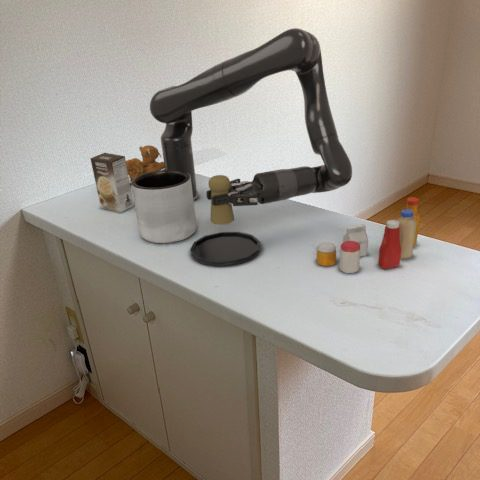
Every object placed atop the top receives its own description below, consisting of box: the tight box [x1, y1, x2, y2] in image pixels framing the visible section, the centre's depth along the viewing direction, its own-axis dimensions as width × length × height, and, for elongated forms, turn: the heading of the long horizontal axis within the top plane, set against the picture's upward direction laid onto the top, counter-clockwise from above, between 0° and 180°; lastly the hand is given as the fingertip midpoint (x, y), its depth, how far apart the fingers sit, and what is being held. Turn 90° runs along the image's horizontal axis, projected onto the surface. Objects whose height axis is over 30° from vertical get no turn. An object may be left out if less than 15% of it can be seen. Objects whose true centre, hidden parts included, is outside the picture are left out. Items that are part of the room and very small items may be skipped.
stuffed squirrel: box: [126, 144, 165, 183], centre depth 177 cm, size 10×14×13 cm
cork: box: [207, 174, 235, 226], centre depth 126 cm, size 6×6×11 cm
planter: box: [130, 169, 198, 244], centre depth 140 cm, size 16×16×16 cm
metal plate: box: [190, 231, 262, 268], centre depth 133 cm, size 18×18×1 cm
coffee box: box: [90, 152, 134, 213], centre depth 160 cm, size 9×6×16 cm
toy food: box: [316, 196, 421, 274], centre depth 121 cm, size 27×13×12 cm, turn 104°
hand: (209, 198), depth 125 cm, fingers closed on cork, 3 cm apart
